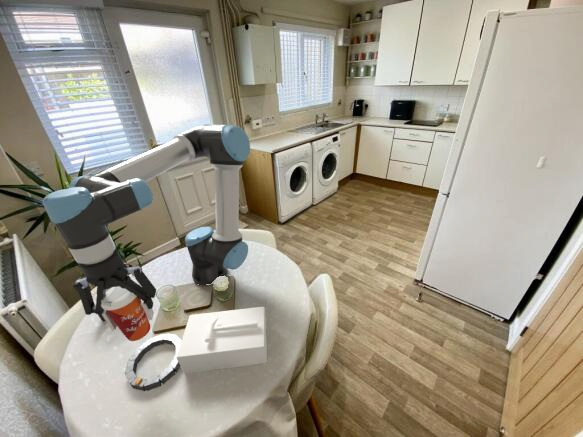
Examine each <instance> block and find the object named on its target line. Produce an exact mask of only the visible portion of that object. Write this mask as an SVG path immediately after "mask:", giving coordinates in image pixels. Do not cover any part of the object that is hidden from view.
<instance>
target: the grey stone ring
mask: <svg viewBox="0 0 583 437" xmlns="http://www.w3.org/2000/svg"><path fill="white" fill-rule="evenodd" d="M181 341H182V339H181V338H179V337H178V335H176V334H171V333H162V334H159V335H156V336H154V337H153V336H152V337H151V338H149V339H147V340H146V341H145V342H143V343H142V344H140V345H139V346H138V347H137V348H136V349H135V350H134V352H133V353H132V354H131V356H130V357H129V358H128V361H127V362H126V366H125V371H124V376H125V378H126V380H127V382H128V383H129V385H130V387H131V388H132V389H133V390H136V391H142V392H148V391H151V390H153V389H156V388H159V387H162V385H163V386H164V385H165V384H166V383H167V382H168V381H170V380H171V379H172V378H173V377H174V376H176V373H178V371H179V370H180V368H181V366H180V364H179V362H178V360H177V358H176V356H177V353H178V350H179V347H180V344H181ZM162 345H169V346H170V345H171V346H174V348H175V355H174V357H173V359H172V361H171V362H170V364H169V366H167V367H166V368H165V369H163V370H162V371H161V372H160V373H159V374H156V375H154V376H153V375H152V376H150V377H148V378H142V377H138V376H137V374H136V373H137V370H138V369H137V368H138V365H139V364H140V362H141V361H142V360H143V358H144V357H145V355H146V354H147V353H149V352H150V351H152V350H153V349H154V348H157V347H160V346H162Z"/></svg>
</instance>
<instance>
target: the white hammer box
mask: <svg viewBox="0 0 583 437" xmlns="http://www.w3.org/2000/svg"><path fill="white" fill-rule="evenodd" d="M266 327H267V317H266V310H265V306H257V307H248V308H240V309H239V308H238V309H232V310H223V311H215V312H214V311H212V312H205V313H195V314H189V317H188V320H187V323H186V326H185V329H184V332H183V336H182V339H181V344H180V347H179V350H178V353H177V356H176V355H175V356H176V358H177V360H178V362H179V364H180V368H181V370H182V372H183V374H189V373H199V372H205V371H214V370H221V369H229V368H236V367H237V368H239V367H244V366H252V364H254V365H258V364H257V363H261V364H265V363H264V362H267V363H268V361H267V360H268V352H267V351H268V349H267V346H268V343H267V342H268V338H266V337H267V336H266V335H267V334H266Z"/></svg>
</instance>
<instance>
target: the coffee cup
mask: <svg viewBox="0 0 583 437" xmlns="http://www.w3.org/2000/svg"><path fill="white" fill-rule="evenodd" d="M101 302H102V304H101V307H102V308H103V309H104V310H106V311H107V312H108V314H109V315H110V316H111V318H112V319H113V321H114V322H115V323H116V325H117V327H118V329H119V330H120V331H121V333H122V334H123V335H124V337H125V338H126V339H127V340H128V341H130V342H136V341H139V340H141V339H143V338H144V337H146V336H147V335H148V333H149V332H150V330H151V323H150V320H149V319H148V317H147V315H146V313H145V311H144V309H143V307H142V305H141V302H142V300H141V299H140V298H138V297H137V296H136V295H134V293H131V292H129V291H128V290H126V289H125V288H124V289H123V288H121V287H120V286H118V287H112V288H111V289H109V290H108V291H107V292H106V293H105V296H104V298H103V300H101Z"/></svg>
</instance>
